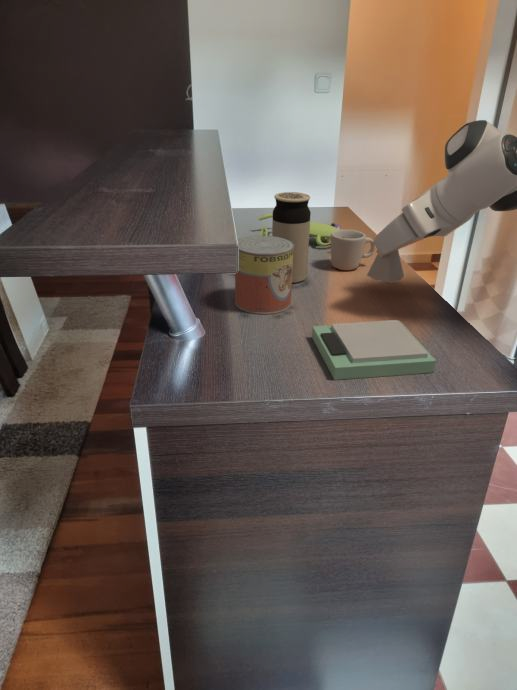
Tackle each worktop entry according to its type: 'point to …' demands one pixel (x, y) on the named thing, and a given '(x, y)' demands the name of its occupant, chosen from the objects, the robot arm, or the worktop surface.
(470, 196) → the robot arm
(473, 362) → the worktop surface
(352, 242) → the cup
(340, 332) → the scale
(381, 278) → the flask
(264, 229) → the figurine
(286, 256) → the canned food
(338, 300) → the worktop surface
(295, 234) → the travel mug
